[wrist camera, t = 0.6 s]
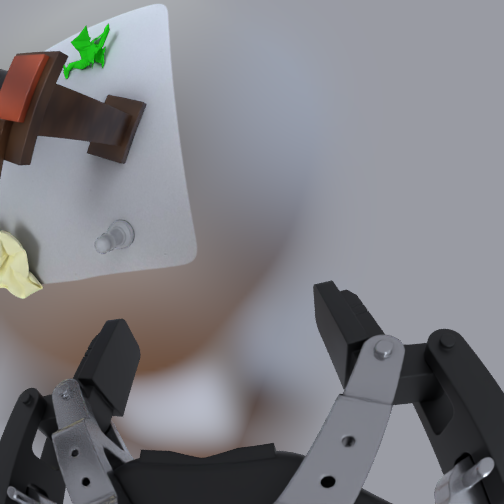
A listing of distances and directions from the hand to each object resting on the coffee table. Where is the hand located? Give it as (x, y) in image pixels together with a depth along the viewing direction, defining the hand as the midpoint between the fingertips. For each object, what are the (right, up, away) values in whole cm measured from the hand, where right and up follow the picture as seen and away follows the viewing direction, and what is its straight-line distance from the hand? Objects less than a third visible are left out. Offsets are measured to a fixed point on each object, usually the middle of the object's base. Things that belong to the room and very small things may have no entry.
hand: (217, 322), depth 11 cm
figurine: (-23, +34, +19) cm, 45 cm away
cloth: (-50, 0, +25) cm, 56 cm away
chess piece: (-20, +6, +30) cm, 37 cm away
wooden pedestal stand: (-20, +22, +25) cm, 39 cm away
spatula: (-21, +11, +4) cm, 24 cm away
